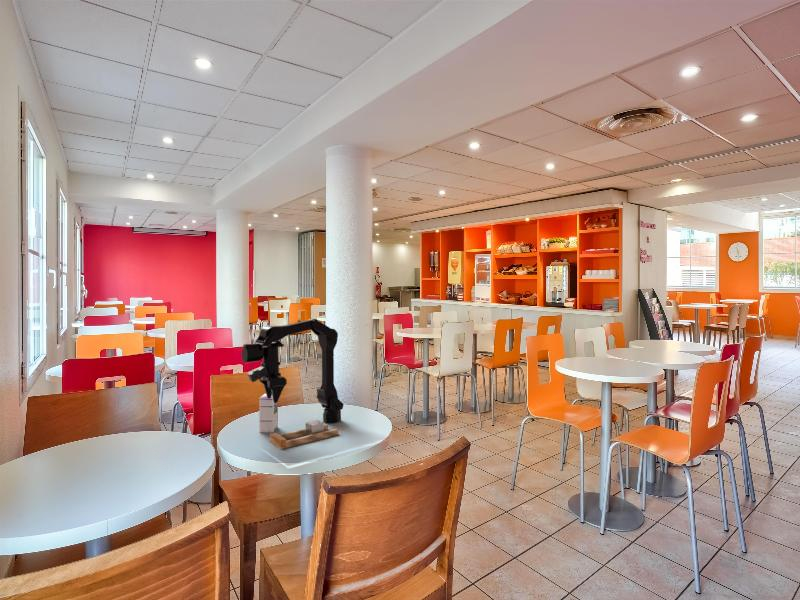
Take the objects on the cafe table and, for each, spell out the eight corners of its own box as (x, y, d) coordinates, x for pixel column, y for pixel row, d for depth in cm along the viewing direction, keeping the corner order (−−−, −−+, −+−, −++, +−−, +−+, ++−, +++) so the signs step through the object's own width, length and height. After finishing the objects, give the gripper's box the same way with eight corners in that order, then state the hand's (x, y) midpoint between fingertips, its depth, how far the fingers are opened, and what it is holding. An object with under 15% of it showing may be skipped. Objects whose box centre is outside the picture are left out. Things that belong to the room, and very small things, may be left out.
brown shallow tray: (324, 430, 180) (324, 420, 180) (340, 437, 171) (340, 427, 171) (269, 443, 166) (268, 433, 166) (282, 452, 157) (282, 441, 157)
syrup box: (273, 434, 176) (274, 397, 176) (258, 433, 177) (259, 396, 176) (277, 429, 182) (278, 393, 182) (263, 428, 182) (264, 393, 182)
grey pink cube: (317, 432, 174) (317, 419, 174) (324, 435, 171) (323, 422, 170) (305, 435, 171) (305, 422, 171) (312, 438, 167) (311, 425, 167)
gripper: (243, 358, 175) (244, 398, 176) (255, 365, 159) (256, 409, 160) (272, 355, 181) (273, 394, 181) (286, 362, 165) (287, 404, 165)
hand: (272, 400), depth 172 cm, fingers open, 8 cm apart
